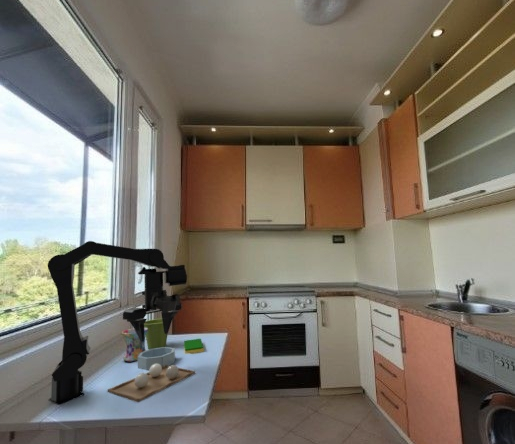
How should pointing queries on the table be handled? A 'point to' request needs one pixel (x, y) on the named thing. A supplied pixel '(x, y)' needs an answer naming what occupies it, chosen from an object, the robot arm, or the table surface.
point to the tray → (149, 385)
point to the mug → (133, 344)
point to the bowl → (156, 357)
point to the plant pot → (155, 334)
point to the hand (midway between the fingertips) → (154, 337)
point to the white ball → (155, 370)
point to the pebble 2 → (172, 372)
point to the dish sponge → (193, 346)
